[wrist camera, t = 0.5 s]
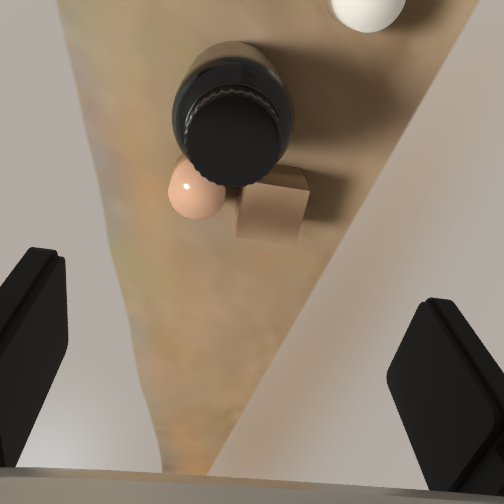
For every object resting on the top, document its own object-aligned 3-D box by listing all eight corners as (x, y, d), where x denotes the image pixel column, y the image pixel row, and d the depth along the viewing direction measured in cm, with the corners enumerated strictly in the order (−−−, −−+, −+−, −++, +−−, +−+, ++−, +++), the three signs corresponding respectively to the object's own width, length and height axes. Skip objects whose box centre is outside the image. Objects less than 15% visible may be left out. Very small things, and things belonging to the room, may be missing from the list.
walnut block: (245, 158, 34) (247, 181, 30) (301, 168, 35) (310, 191, 31) (235, 210, 36) (236, 237, 33) (288, 218, 37) (295, 245, 33)
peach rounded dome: (177, 144, 33) (171, 162, 30) (229, 153, 34) (229, 172, 30) (172, 192, 35) (165, 215, 32) (221, 200, 36) (220, 223, 32)
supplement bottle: (300, 79, 31) (335, 128, 21) (244, 156, 34) (251, 232, 24) (218, 15, 29) (213, 34, 19) (166, 103, 32) (136, 161, 21)
